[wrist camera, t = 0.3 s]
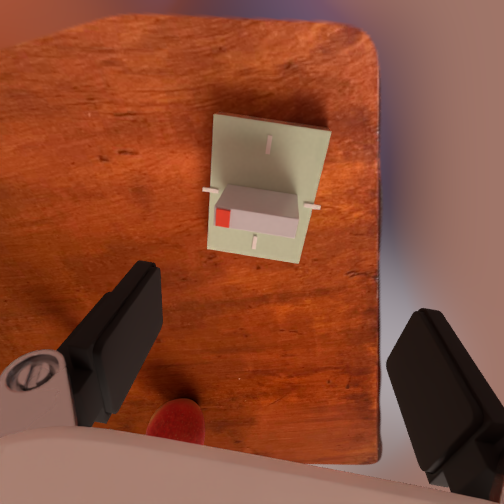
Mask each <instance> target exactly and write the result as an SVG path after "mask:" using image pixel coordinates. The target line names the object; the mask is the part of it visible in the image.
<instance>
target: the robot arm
mask: <svg viewBox="0 0 504 504" xmlns="http://www.w3.org/2000/svg"><path fill="white" fill-rule="evenodd" d="M162 323H163V315H162V294H161V274H160V268H158V267H156V265H155V263H152V262H146V261H140V260H139V261H137V262H136V264H135V265H134V266H133V267H132V268H131V269H130V271H129V272H128V273H127V274H126V275H125V277H124V278H123V279H122V280H121V281H120V283H119V284H118V285H117V286H116V287H115V288H114V290H113V291H112V292H108V293H106V294H105V295H104V296H103V297H102V298H101V299H100V300H99V302H98V303H97V304H96V305H95V306H94V307H93V309H92V310H91V311H90V312H89V313H88V314H87V316H86V317H85V318H84V319H83V320H82V321H81V322H80V324H79V325H78V326H77V327H76V328H75V329H74V331H73V332H72V333H71V334H70V335H69V336H68V338H67V339H66V340H65V341H64V342H63V343H62V344H61V346H60V347H59V348H58V349H57V350H56V351H55V350H51V349H42V350H37V351H33V352H30V353H28V354H25V355H23V356H21V357H19V358H18V359H16V360H14V361H13V362H12V363H11V364H10V365H9V366H7V367H6V368H5V370H4V371H3V373H2V374H1V375H0V504H504V407H503V405H502V404H501V402H500V401H499V399H498V398H497V396H496V395H495V393H494V392H493V390H492V389H491V387H490V386H489V384H488V383H487V381H486V379H485V378H484V376H483V375H482V373H481V372H480V370H479V369H478V367H477V366H476V364H475V363H474V361H473V360H472V358H471V357H470V355H469V354H468V352H467V350H466V349H465V348H464V346H463V345H462V343H461V341H460V340H459V338H458V337H457V335H456V334H455V332H454V331H453V329H452V328H451V326H450V325H449V323H448V322H447V320H446V319H445V317H444V315H443V314H442V313H441V312H440V311H437V310H431V309H426V308H421V309H419V310H418V311H415V312H414V313H413V314H412V316H411V318H410V320H409V321H408V323H407V325H406V327H405V329H404V330H403V332H402V334H401V336H400V337H399V339H398V341H397V343H396V345H395V346H394V348H393V350H392V352H391V354H390V356H389V357H388V359H387V362H386V367H387V372H388V375H389V377H390V380H391V384H392V386H393V390H394V393H395V396H396V398H397V401H398V404H399V407H400V410H401V413H402V416H403V419H404V422H405V425H406V428H407V431H408V434H409V437H410V440H411V443H412V446H413V449H414V452H415V455H416V458H417V461H418V463H419V466H420V468H421V469H422V470H423V471H425V473H426V475H427V478H428V481H429V484H432V485H437V486H443V487H449V488H450V491H451V492H446V491H441V490H437V489H432V488H427V487H422V486H417V485H411V484H406V483H401V482H395V481H391V480H385V479H380V478H375V477H370V476H364V475H359V474H354V473H349V472H344V471H338V470H333V469H328V468H323V467H317V466H312V465H307V464H301V463H296V462H291V461H285V460H280V459H275V458H269V457H264V456H259V455H253V454H248V453H243V452H237V451H232V450H226V449H221V448H215V447H210V446H204V445H199V444H193V443H188V442H182V441H177V440H171V439H166V438H160V437H154V436H148V435H141V434H135V433H129V432H123V431H117V430H111V429H102V428H93V427H92V425H93V423H94V422H100V423H107V421H108V420H109V418H110V416H111V414H112V413H113V414H116V413H117V412H118V411H119V409H120V407H121V405H122V403H123V401H124V399H125V397H126V395H127V394H128V392H129V390H130V388H131V386H132V384H133V382H134V380H135V378H136V376H137V374H138V372H139V370H140V368H141V366H142V365H143V363H144V361H145V359H146V357H147V355H148V353H149V351H150V349H151V347H152V345H153V343H154V341H155V339H156V338H157V336H158V334H159V332H160V330H161V327H162Z"/></svg>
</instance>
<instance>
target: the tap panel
mask: <svg viewBox="0 0 504 504" xmlns="http://www.w3.org/2000/svg"><path fill="white" fill-rule="evenodd" d="M330 136H331V130H330V129H329V128H327V127H320V126H313V125H307V124H300V123H293V122H286V121H280V120H273V119H266V118H259V117H253V116H246V115H239V114H232V113H226V112H217V113H215V114H214V115H213V136H212V157H211V178H210V188H208V187H203V191H204V192H210V199H209V219H208V240H207V249H212V250H218V251H224V252H230V253H236V254H242V255H249V256H255V257H261V258H267V259H273V260H279V261H285V262H291V263H297V264H299V261H300V257H301V253H302V249H303V245H304V241H305V237H306V232H307V228H308V224H309V220H310V216H311V212H312V209H318V210H320V207H321V205H316V204H314V200H315V196H316V192H317V188H318V184H319V180H320V176H321V172H322V168H323V164H324V160H325V156H326V152H327V148H328V144H329V140H330ZM227 184H231V185H237V186H244V187H250V188H256V189H263V190H269V191H276V192H282V193H288V194H295V195H297V196H298V210H299V222H298V227H297V231H296V236H295V238H288V237H281V236H275V235H269V234H263V233H257V232H250V231H244V230H238V229H232V228H226V227H219V226H214V225H213V224H214V206H215V204H216V203H217V201H218V199H219V198H220V196H221V194H222V193H223V191H224V189H225V188H226V186H227Z"/></svg>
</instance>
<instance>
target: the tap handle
mask: <svg viewBox="0 0 504 504" xmlns="http://www.w3.org/2000/svg"><path fill="white" fill-rule="evenodd" d="M298 222H299V210H298V196H297V195H295V194H288V193H282V192H276V191H269V190H263V189H256V188H250V187H244V186H237V185H231V184H227V186H226V188H225V189H224V191H223V193H222V194H221V196H220V198H219V199H218V201H217V203H216V204H215V206H214V224H213V225H214V226H219V227H226V228H232V229H238V230H244V231H250V232H257V233H263V234H269V235H275V236H281V237H288V238H295V236H296V231H297V227H298Z"/></svg>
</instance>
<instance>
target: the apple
mask: <svg viewBox="0 0 504 504" xmlns="http://www.w3.org/2000/svg"><path fill="white" fill-rule="evenodd" d="M146 435H148V436H154V437H160V438H166V439H171V440H177V441H182V442H188V443H193V444H199V445H203V444H204V438H205V423H204V417H203V413H202V411H201V409H200V407H199V406H198V404H197V403H196V402H194V401H193V400H190V399H186V398H181V399H174V400H171V401H169V402H167V403H165V404H164V405H162V406H161V407H160V408H159V409H158V410H157V411H156V412H155V413H154V415H153V416H152V418H151V420H150V422H149V424H148V427H147V432H146Z"/></svg>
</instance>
